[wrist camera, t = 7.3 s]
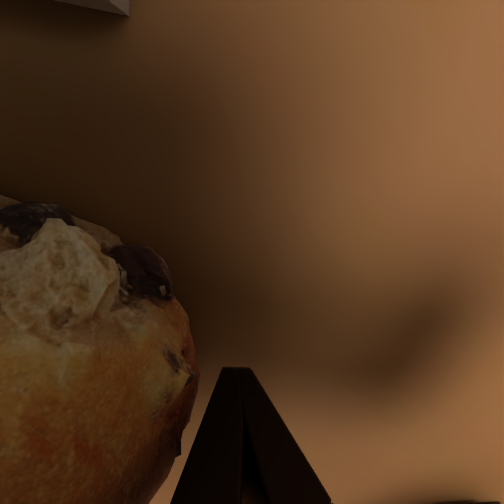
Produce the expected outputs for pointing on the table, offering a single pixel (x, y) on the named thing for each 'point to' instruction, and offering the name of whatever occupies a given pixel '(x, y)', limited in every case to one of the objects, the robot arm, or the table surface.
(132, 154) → the table surface
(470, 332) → the table surface
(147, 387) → the bread roll
